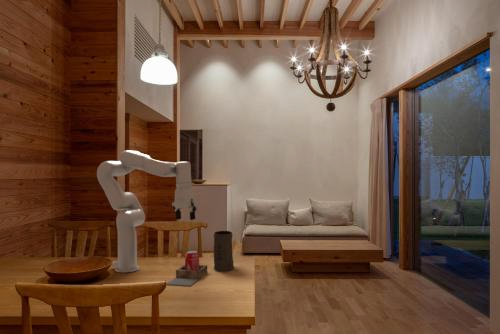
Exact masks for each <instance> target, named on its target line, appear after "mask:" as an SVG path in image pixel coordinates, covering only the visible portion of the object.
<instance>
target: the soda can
mask: <svg viewBox="0 0 500 334" xmlns="http://www.w3.org/2000/svg"><path fill="white" fill-rule="evenodd" d="M184 265H185V270H193V271H198V270H199V265H200V254H199V251H198V250H187V251H186V253H185V256H184Z"/></svg>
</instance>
